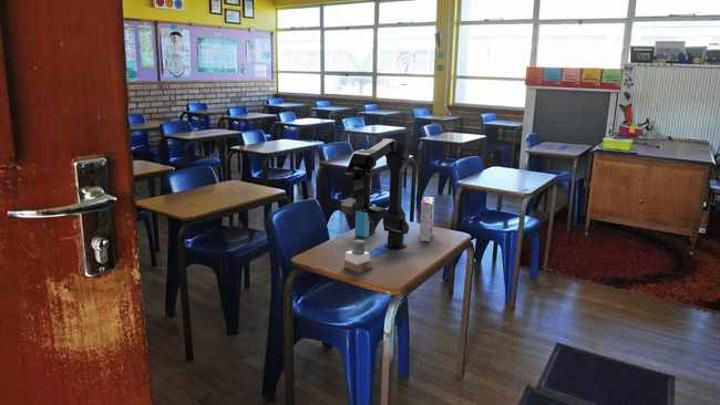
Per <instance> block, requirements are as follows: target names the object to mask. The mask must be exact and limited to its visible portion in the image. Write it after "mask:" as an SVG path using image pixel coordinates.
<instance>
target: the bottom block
mask: <svg viewBox="0 0 720 405" xmlns="http://www.w3.org/2000/svg"><path fill="white" fill-rule="evenodd" d="M343 261H344V263H343V268H344V269H347V270H350V271H354V272H356V273H358V274H359V273H363V272H365V271H367V270H370V269H372V268H373V260H372V259H369V261H368V262H365V263H361V264H358V265H356V264H354V263H351V262H349V261H346V260H343Z"/></svg>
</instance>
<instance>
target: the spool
mask: <svg viewBox="0 0 720 405" xmlns="http://www.w3.org/2000/svg"><path fill="white" fill-rule="evenodd" d="M351 248H352V249H351V250H352V253H353V254H356V255H362V254H364V253H365V251H366V250H365V249H366V241H365V240H363V239H354V240H352V245H351Z"/></svg>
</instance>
